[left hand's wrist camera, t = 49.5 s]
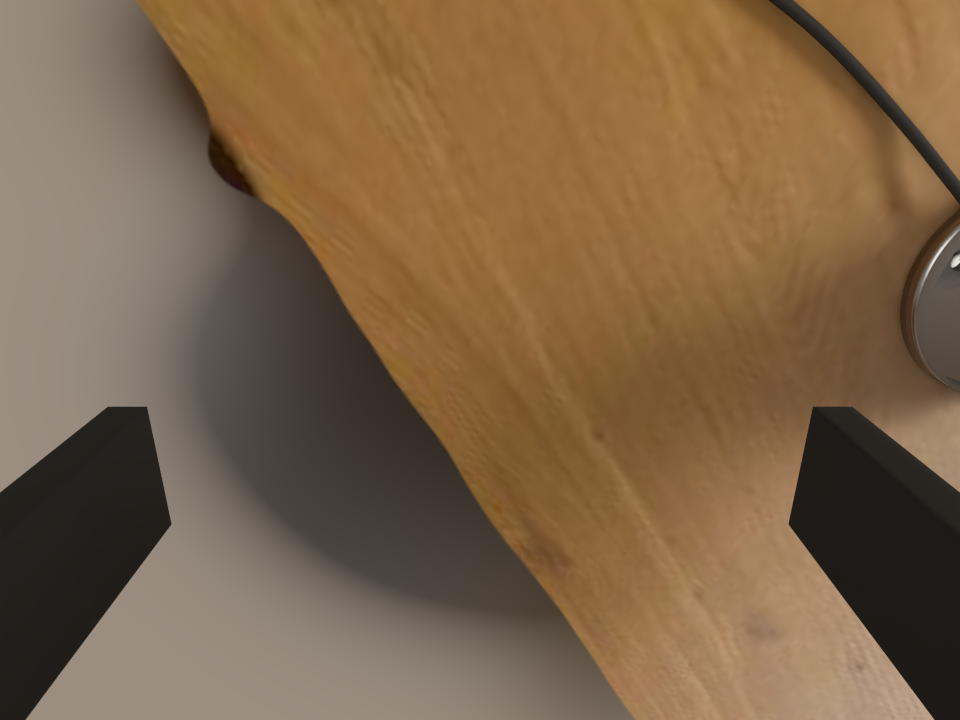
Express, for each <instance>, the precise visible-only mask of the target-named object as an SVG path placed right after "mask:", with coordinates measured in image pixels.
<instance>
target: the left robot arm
mask: <svg viewBox="0 0 960 720" xmlns="http://www.w3.org/2000/svg"><path fill="white" fill-rule="evenodd" d="M769 1H770V2H772V3H773V4H774V5H775V6H777V7H778V8H779V9H780V10H782V11H783V12H784V13H785V14H787V15H788V16H789V17H790V18H792V19H793V20H794V21H795V22H797V23H798V24H799V25H800V26H801V27H802V28H804V29H805V30H806V31H807V32H808V33H809V34H810V35H811V36H813V37H814V38H815V39H816V40H817V41H818V42H819V43H820V44H821V45H822V46H823V47H824V48H825V49H826V50H827V51H828V52H829V53H830V54H831V55H832V56H834V57H835V58H836V59H837V60H838V61H839V62H840V63H841V64H842V66H843V67H844V68H845V69H846V70H847V71H848V72H849V73H850V74H851V75H852V76H853V77H854V78H855V79H856V80H857V81H858V82H859V83H860V84H861V86H862V87H863V88H864V89H865V90H866V91H867V92H868V93H869V94H870V95H871V97H872V98H873V99H874V100H875V101H876V102H877V103H878V105H879V106H880V107H881V108H882V109H883V110H884V111H885V113H886V114H887V115H888V116H889V117H890V118H891V119H892V121H893V122H894V123H895V124H896V125H897V126H898V128H899V129H900V130H901V131H902V132H903V133H904V135H905V136H906V137H907V138H908V139H909V141H910V142H911V143H912V144H913V145H914V147H915V148H916V149H917V150H918V152H919V153H920V154H921V156H922V157H923V158H924V159H925V161H926V162H927V163H928V164H929V166H930V167H931V168H932V170H933V171H934V172H935V173H936V175H937V176H938V177H939V178H940V180H941V181H942V182H943V183H944V185H945V186H946V187H947V188H948V190H949V191H950V192H951V194H952V195H953V196H954V197H955V199H956V200H957V201H958V202H959V204H960V181H959V180H958V179H957V177H956V176H955V175H954V174H953V172H952V171H951V170H950V169H949V167H948V166H947V165H946V163H945V162H944V161H943V160H942V158H941V157H940V156H939V155H938V153H937V152H936V151H935V149H934V148H933V147H932V146H931V144H930V143H929V142H928V141H927V139H926V138H925V137H924V136H923V134H922V133H921V132H920V131H919V130H918V128H917V127H916V126H915V125H914V124H913V122H912V121H911V120H910V119H909V118H908V117H907V115H906V114H905V113H904V112H903V111H902V110H901V108H900V107H899V106H898V105H897V104H896V103H895V101H894V100H893V99H892V98H891V97H890V96H889V94H888V93H887V92H886V91H885V90H884V89H883V88H882V86H881V85H880V84H879V83H878V82H877V81H876V80H875V79H874V77H873V76H872V75H871V74H870V73H869V72H868V71H867V70H866V69H865V68H864V67H863V66H862V64H861V63H860V62H859V61H858V60H857V59H856V58H855V57H854V56H853V55H852V54H851V53H850V52H849V51H848V50H847V49H846V48H845V47H844V46H843V45H842V44H841V43H840V42H839V41H838V40H837V39H836V38H835V37H834V36H833V35H832V34H831V33H830V32H829V31H828V30H827V29H825V28H824V27H823V26H822V25H821V24H820V23H819V22H818V21H817V20H816V19H814V18H813V17H812V16H811V15H810V14H809V13H807V12H806V11H805V10H804V9H803V8H801V7H800V6H799V5H798V4H797V3H795V2H794V1H793V0H769ZM901 328H902V333H903V337H904V340H905V343H906V346H907V348H908V350H909V352H910V354H911V355H912V357H913V358H914V360H915V361H916V362H917V364H918V365H919V366H920V367H921V368H922V369H923V370H924V371H925V372H927V373H928V374H929V375H931V376H932V377H934V378H935V379H937V380H939V381H940V382H942V383H944V384H945V385H947V386H949V387H951V388H952V389H954V390H956V391H958V392H960V210H959V211H958V212H957V213H955V214H954V215H953V216H952V217H951V218H949V219H948V220H947V221H946V222H945V223H944V224H943V225H942V226H941V227H940V228H939V229H938V230H937V231H936V233H935V234H934V235H933V236H932V237H931V238H930V240H929V241H928V242H927V244H926V245H925V246H924V248H923V249H922V251H921V252H920V254H919V255H918V257H917V259H916V261H915V263H914V265H913V266H912V269H911V271H910V273H909V276H908V278H907V281H906V284H905V287H904V291H903V296H902V302H901ZM170 525H171V520H170V515H169V510H168V506H167V501H166V496H165V491H164V487H163V482H162V477H161V472H160V467H159V462H158V458H157V453H156V448H155V443H154V439H153V434H152V429H151V424H150V420H149V415H148V410H147V407H107V408H106V409H105V410H103V411H102V412H101V413H100V414H98V415H97V416H96V417H95V418H93V419H92V420H91V421H90V422H88V423H87V424H86V425H85V426H83V427H82V428H81V429H80V430H78V431H77V432H76V433H75V434H73V435H72V436H71V437H69V438H68V439H67V440H66V441H64V442H63V443H62V444H61V445H59V446H58V447H57V448H56V449H54V450H53V451H52V452H51V453H49V454H48V455H47V456H46V457H44V458H43V459H42V460H41V461H39V462H38V463H37V464H36V465H34V466H33V467H32V468H31V469H29V470H28V471H27V472H25V473H24V474H23V475H22V476H20V477H19V478H18V479H17V480H15V481H14V482H13V483H12V484H10V485H9V486H8V487H7V488H5V489H4V490H3V491H2V492H0V720H26V718H27V717H28V716H29V714H30V713H31V711H32V710H33V709H34V708H35V706H36V705H37V704H38V702H39V701H40V699H41V698H42V697H43V695H44V694H45V693H46V691H47V690H48V689H49V687H50V686H51V685H52V683H53V682H54V681H55V679H56V678H57V677H58V675H59V674H60V673H61V671H62V670H63V669H64V667H65V666H66V665H67V663H68V662H69V661H70V659H71V658H72V657H73V655H74V654H75V653H76V651H77V650H78V648H79V647H80V646H81V645H82V643H83V642H84V640H85V639H86V638H87V637H88V635H89V634H90V632H91V631H92V630H93V628H94V627H95V626H96V624H97V623H98V622H99V620H100V619H101V618H102V616H103V615H104V614H105V612H106V611H107V610H108V608H109V607H110V606H111V604H112V603H113V602H114V600H115V599H116V598H117V596H118V595H119V594H120V592H121V591H122V590H123V588H124V587H125V586H126V584H127V583H128V582H129V580H130V579H131V578H132V576H133V575H134V574H135V572H136V571H137V570H138V568H139V567H140V566H141V564H142V563H143V561H144V560H145V559H146V557H147V556H148V555H149V554H150V552H151V551H152V549H153V548H154V547H155V545H156V544H157V543H158V541H159V540H160V539H161V537H162V536H163V535H164V533H165V532H166V531H167V529H168V528H169V527H170ZM789 525H790V527H791V528H792V529H793V531H794V532H795V533H796V535H797V536H798V537H799V539H800V540H801V541H802V543H803V544H804V545H805V547H806V548H807V549H808V551H809V552H810V554H811V555H812V556H813V558H814V559H815V560H816V562H817V563H818V564H819V566H820V567H821V568H822V570H823V571H824V572H825V574H826V575H827V576H828V578H829V579H830V580H831V582H832V583H833V584H834V586H835V587H836V588H837V590H838V591H839V592H840V594H841V595H842V596H843V598H844V599H845V600H846V602H847V603H848V604H849V606H850V607H851V608H852V610H853V611H854V612H855V614H856V615H857V616H858V618H859V619H860V620H861V622H862V623H863V624H864V626H865V627H866V629H867V630H868V631H869V633H870V634H871V635H872V637H873V638H874V639H875V641H876V642H877V643H878V645H879V646H880V647H881V649H882V650H883V651H884V653H885V654H886V655H887V657H888V658H889V659H890V661H891V662H892V663H893V665H894V666H895V667H896V669H897V670H898V671H899V673H900V674H901V675H902V677H903V678H904V679H905V681H906V682H907V683H908V685H909V686H910V687H911V689H912V690H913V691H914V693H915V694H916V695H917V697H918V698H919V699H920V701H921V702H922V704H923V705H924V706H925V708H926V709H927V710H928V712H929V713H930V714H931V716H932V717H933V718H934V720H960V492H958V491H957V490H956V489H955V488H953V487H952V486H951V485H950V484H948V483H947V482H946V481H945V480H943V479H942V478H941V477H940V476H938V475H937V474H936V473H935V472H933V471H932V470H931V469H930V468H928V467H927V466H926V465H924V464H923V463H922V462H921V461H919V460H918V459H917V458H916V457H914V456H913V455H912V454H911V453H909V452H908V451H907V450H906V449H904V448H903V447H902V446H901V445H899V444H898V443H897V442H896V441H894V440H893V439H892V438H891V437H889V436H888V435H887V434H886V433H884V432H883V431H882V430H880V429H879V428H878V427H877V426H875V425H874V424H873V423H872V422H870V421H869V420H868V419H867V418H865V417H864V416H863V415H862V414H860V413H859V412H858V411H857V410H855V409H854V408H853V407H813V410H812V415H811V419H810V424H809V429H808V434H807V439H806V443H805V448H804V453H803V458H802V462H801V467H800V472H799V477H798V482H797V486H796V491H795V496H794V501H793V506H792V510H791V515H790V520H789Z"/></svg>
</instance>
